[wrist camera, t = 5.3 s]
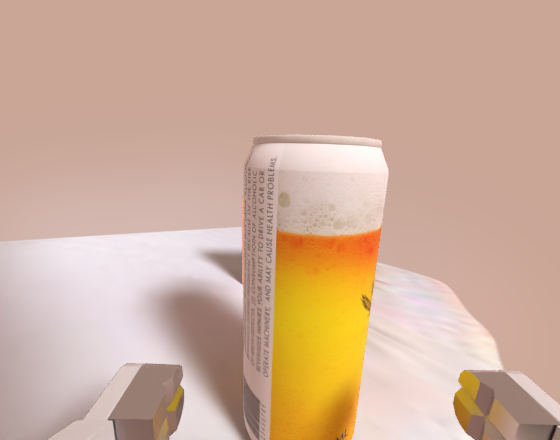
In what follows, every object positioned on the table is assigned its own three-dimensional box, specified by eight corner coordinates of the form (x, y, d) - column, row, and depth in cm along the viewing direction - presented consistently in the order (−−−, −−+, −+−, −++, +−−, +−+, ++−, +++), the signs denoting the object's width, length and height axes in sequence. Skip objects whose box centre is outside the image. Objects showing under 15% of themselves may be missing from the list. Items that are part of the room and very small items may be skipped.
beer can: (375, 426, 14) (420, 143, 11) (294, 521, 10) (322, 129, 7) (299, 359, 19) (312, 145, 15) (223, 408, 15) (217, 137, 11)
